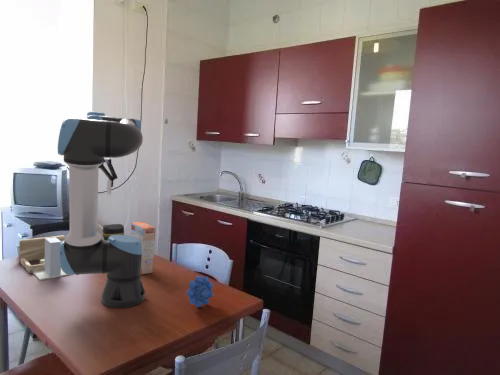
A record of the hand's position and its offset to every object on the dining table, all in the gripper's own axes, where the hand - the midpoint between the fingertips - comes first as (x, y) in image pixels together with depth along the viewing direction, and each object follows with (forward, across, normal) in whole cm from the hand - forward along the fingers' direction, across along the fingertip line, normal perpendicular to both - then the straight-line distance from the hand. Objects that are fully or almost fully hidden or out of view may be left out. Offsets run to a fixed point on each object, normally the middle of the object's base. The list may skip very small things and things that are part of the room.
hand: (94, 194), depth 160 cm
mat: (+32, +17, +2) cm, 37 cm away
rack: (+33, +15, -12) cm, 38 cm away
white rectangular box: (+32, +17, +2) cm, 36 cm away
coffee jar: (+33, -9, +2) cm, 34 cm away
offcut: (+31, +16, -8) cm, 36 cm away
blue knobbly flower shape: (+33, -13, +64) cm, 73 cm away
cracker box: (+33, -15, +17) cm, 40 cm away
